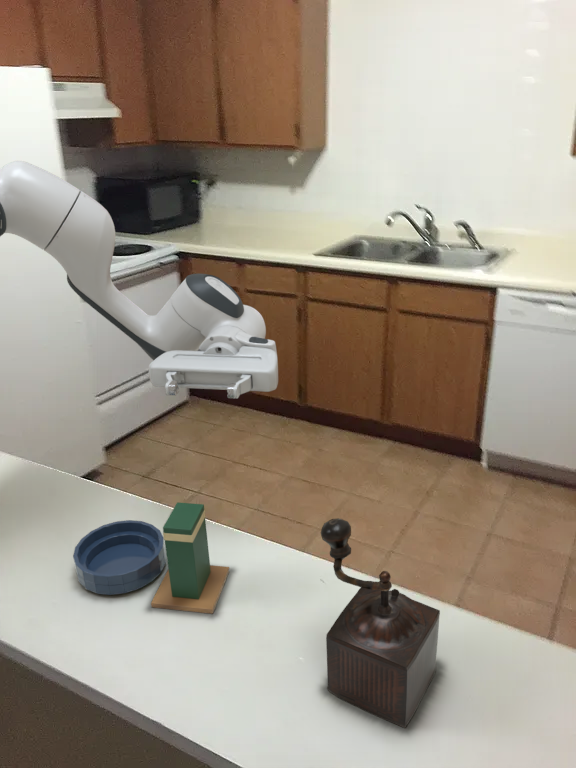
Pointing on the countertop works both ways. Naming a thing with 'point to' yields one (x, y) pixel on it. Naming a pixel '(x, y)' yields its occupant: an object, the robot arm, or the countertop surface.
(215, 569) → the cork mat
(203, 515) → the tea packet
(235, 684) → the countertop surface
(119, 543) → the bowl
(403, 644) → the manual coffee grinder
